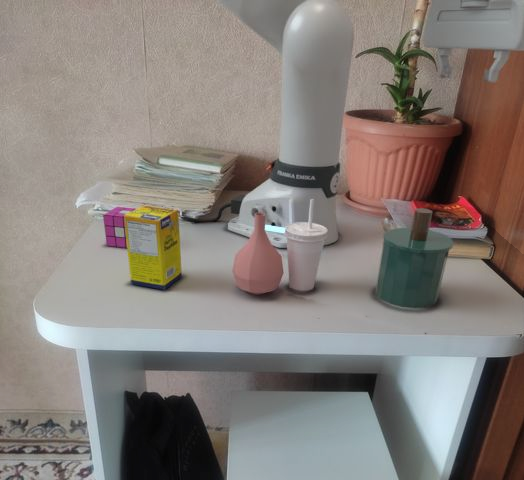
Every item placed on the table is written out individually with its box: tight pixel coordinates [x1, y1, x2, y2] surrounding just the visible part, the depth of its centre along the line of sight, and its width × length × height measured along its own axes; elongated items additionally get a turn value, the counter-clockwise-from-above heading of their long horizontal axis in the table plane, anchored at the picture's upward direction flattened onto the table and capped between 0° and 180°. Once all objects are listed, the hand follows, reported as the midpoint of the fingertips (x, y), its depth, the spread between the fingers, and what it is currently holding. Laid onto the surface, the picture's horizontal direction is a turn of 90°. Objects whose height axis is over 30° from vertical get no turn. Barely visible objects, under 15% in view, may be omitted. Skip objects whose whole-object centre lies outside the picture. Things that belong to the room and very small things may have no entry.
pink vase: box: [232, 213, 284, 296], centre depth 76 cm, size 8×8×12 cm
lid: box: [382, 207, 454, 253], centre depth 74 cm, size 10×10×5 cm
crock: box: [375, 240, 450, 309], centre depth 77 cm, size 9×9×9 cm
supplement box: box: [124, 205, 183, 291], centre depth 79 cm, size 6×6×11 cm
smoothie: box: [284, 199, 328, 292], centre depth 77 cm, size 6×6×14 cm
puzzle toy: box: [102, 206, 138, 249], centre depth 94 cm, size 6×6×6 cm
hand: (466, 80), depth 89 cm, fingers open, 8 cm apart
